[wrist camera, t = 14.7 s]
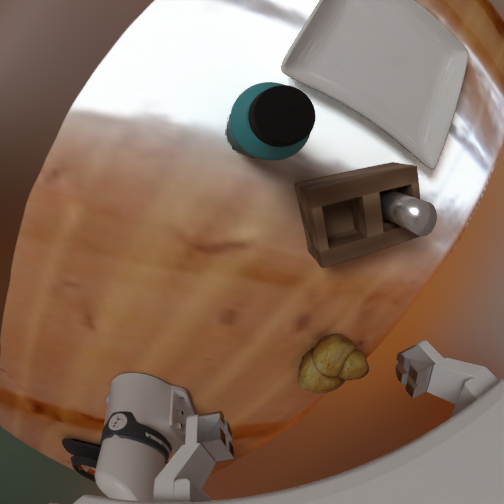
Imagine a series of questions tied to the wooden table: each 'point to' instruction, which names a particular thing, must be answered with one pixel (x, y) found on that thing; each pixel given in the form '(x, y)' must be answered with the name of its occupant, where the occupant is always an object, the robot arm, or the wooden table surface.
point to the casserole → (83, 457)
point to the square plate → (384, 68)
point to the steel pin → (408, 212)
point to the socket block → (353, 211)
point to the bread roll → (331, 364)
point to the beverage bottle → (270, 121)
